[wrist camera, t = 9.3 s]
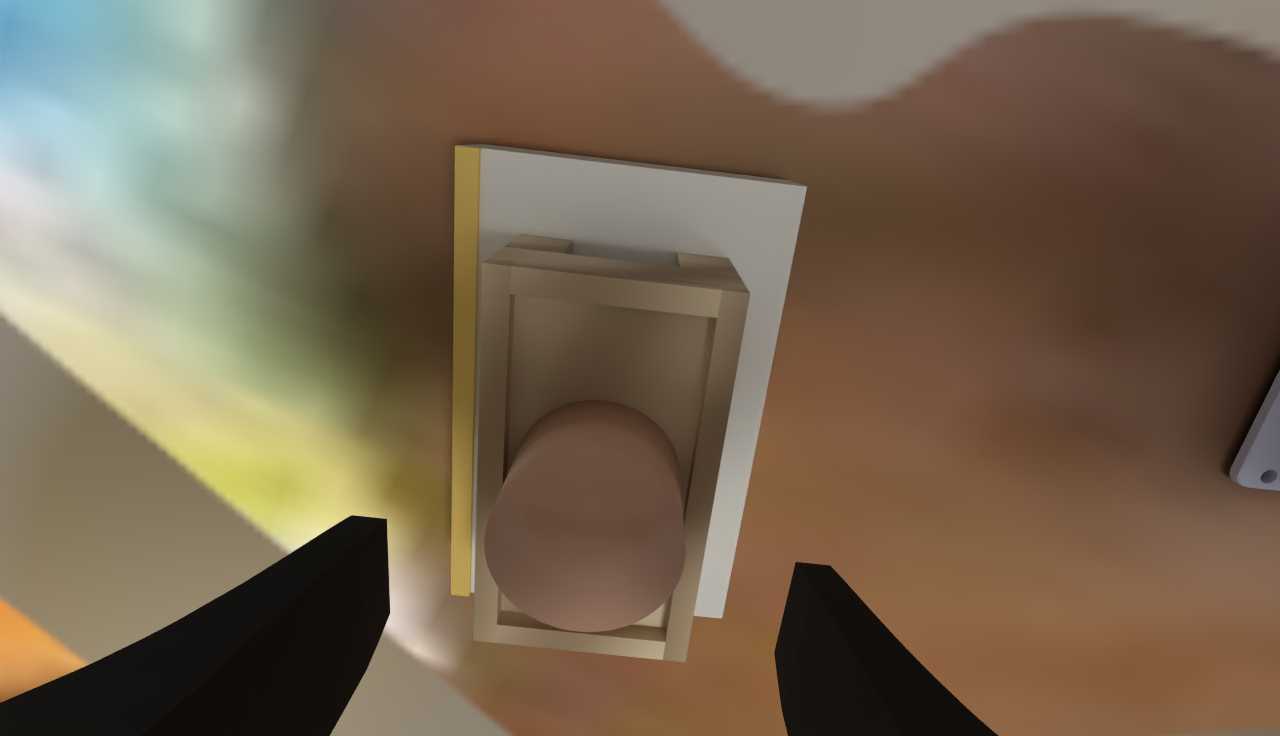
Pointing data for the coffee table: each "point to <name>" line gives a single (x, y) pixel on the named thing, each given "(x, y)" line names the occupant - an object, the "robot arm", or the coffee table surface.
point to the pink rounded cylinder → (589, 519)
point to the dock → (631, 231)
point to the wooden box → (606, 398)
